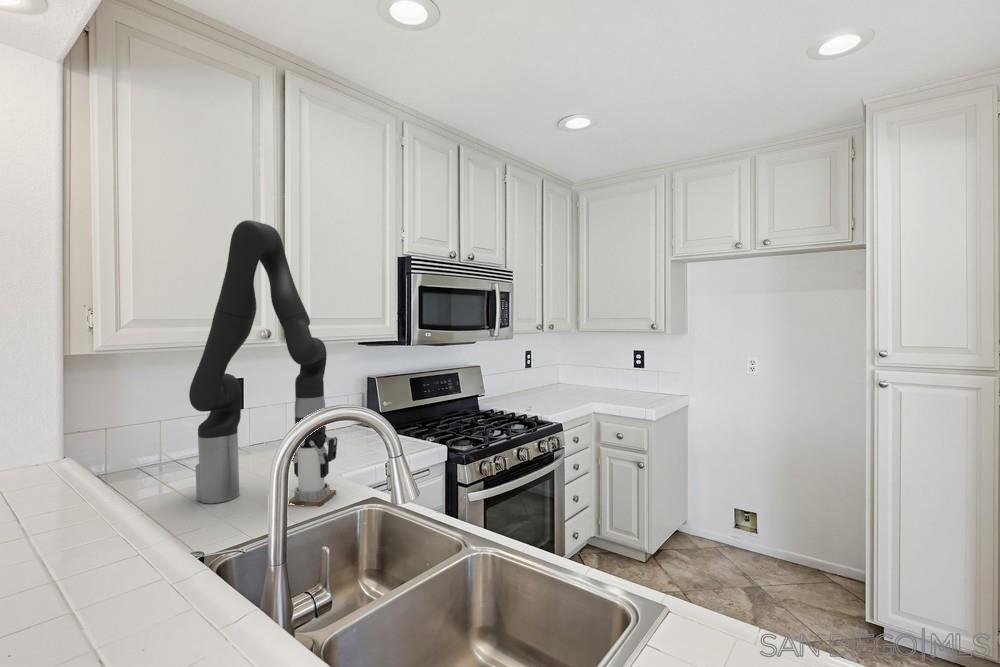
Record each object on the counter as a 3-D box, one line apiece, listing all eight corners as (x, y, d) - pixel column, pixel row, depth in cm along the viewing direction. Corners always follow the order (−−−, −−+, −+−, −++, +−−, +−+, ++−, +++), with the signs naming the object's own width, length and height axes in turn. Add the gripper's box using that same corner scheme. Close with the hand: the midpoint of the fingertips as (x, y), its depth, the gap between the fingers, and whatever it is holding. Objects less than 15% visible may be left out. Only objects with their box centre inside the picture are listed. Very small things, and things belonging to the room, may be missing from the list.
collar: (288, 500, 125) (288, 493, 125) (305, 489, 134) (305, 481, 134) (319, 501, 124) (319, 494, 124) (335, 490, 133) (335, 482, 132)
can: (315, 495, 125) (314, 448, 125) (293, 493, 126) (292, 447, 126) (329, 486, 131) (328, 442, 131) (307, 485, 133) (306, 441, 132)
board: (287, 505, 125) (287, 500, 125) (305, 493, 134) (305, 488, 134) (319, 506, 124) (319, 502, 124) (336, 494, 133) (335, 489, 133)
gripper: (276, 415, 125) (278, 480, 126) (329, 416, 124) (330, 482, 124) (292, 410, 133) (294, 471, 133) (342, 411, 131) (343, 472, 131)
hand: (311, 476), depth 129 cm, fingers closed on can, 6 cm apart
